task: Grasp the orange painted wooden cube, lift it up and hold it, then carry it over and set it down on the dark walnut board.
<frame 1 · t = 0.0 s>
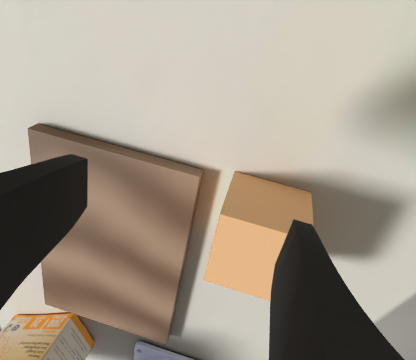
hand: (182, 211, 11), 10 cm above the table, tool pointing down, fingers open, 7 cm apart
walnut board: (113, 244, 27), on the table
orange cube: (262, 212, 23), on the table
supplement box: (55, 325, 35), on the table
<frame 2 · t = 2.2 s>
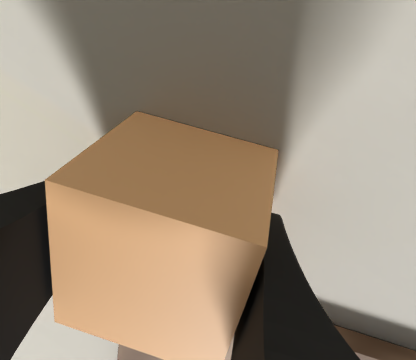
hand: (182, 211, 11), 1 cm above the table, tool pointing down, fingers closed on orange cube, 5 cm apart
orange cube: (193, 190, 13), on the table, touching gripper
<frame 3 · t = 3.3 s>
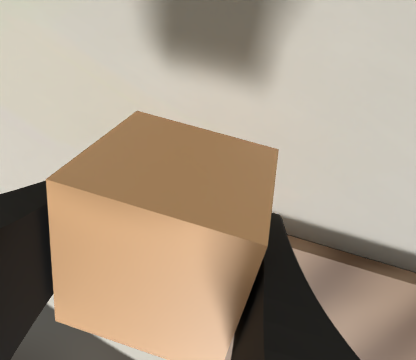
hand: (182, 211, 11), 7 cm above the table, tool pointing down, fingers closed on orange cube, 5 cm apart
walnut board: (289, 314, 22), on the table
orange cube: (193, 190, 13), point 5 cm above the table, touching gripper
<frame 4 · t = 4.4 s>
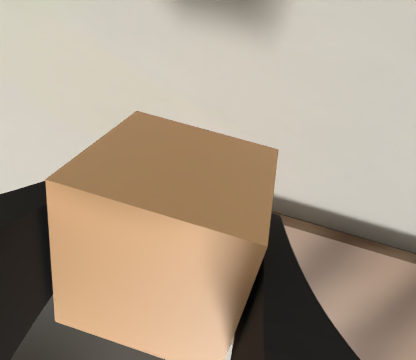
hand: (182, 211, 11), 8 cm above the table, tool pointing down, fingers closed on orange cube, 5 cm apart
walnut board: (290, 293, 23), on the table
orange cube: (193, 190, 13), point 7 cm above the table, touching gripper
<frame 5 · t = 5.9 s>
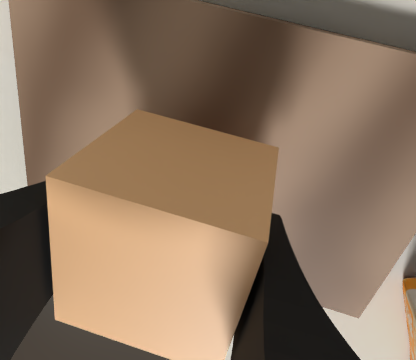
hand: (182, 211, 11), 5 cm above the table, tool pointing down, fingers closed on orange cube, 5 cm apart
walnut board: (213, 155, 15), on the table
orange cube: (194, 189, 13), point 3 cm above the table, touching gripper
when the fingers open (4 cm above the table, at t = 7.0 s): orange cube drops 1 cm, resting on walnut board.
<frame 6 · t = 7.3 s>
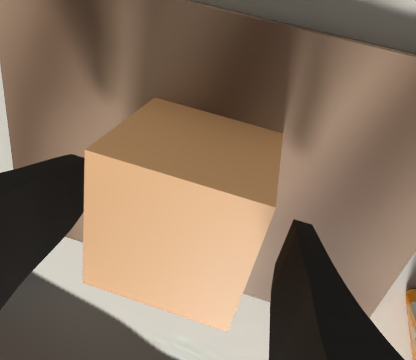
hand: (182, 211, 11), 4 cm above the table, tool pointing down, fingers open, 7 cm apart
walnut board: (208, 162, 15), on the table
orange cube: (204, 171, 14), point 1 cm above the table, touching walnut board
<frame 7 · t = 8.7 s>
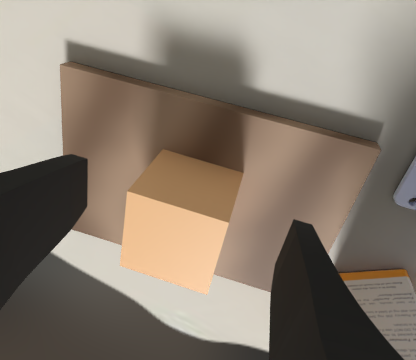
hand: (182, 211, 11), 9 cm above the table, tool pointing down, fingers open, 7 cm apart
walnut board: (198, 188, 22), on the table
orange cube: (195, 195, 21), point 1 cm above the table, touching walnut board
supplement box: (371, 310, 24), on the table
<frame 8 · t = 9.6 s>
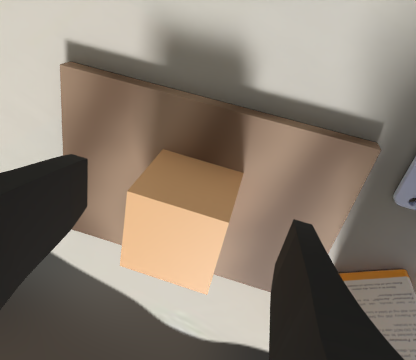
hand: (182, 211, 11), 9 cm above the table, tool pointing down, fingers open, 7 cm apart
walnut board: (198, 188, 22), on the table
orange cube: (195, 195, 21), point 1 cm above the table, touching walnut board
supplement box: (371, 310, 24), on the table
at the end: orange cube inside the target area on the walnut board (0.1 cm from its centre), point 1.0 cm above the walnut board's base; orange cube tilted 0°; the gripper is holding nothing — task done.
